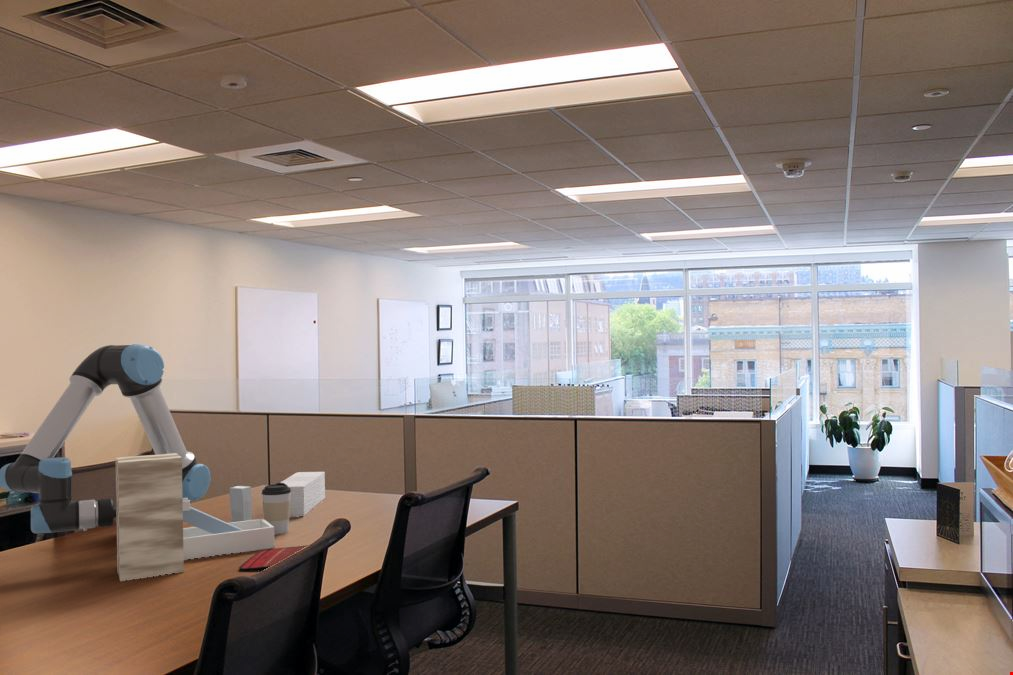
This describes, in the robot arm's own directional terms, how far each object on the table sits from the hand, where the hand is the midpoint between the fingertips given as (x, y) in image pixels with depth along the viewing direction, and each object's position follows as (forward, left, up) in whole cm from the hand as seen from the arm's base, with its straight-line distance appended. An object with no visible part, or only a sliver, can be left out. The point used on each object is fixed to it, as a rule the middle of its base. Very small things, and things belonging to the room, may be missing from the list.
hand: (188, 503), depth 229 cm
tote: (0, +6, -14) cm, 15 cm away
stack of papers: (-48, +45, -15) cm, 67 cm away
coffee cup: (-13, +28, -14) cm, 34 cm away
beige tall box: (+14, -12, -14) cm, 23 cm away
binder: (+21, +20, -15) cm, 33 cm away
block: (0, +1, -6) cm, 6 cm away
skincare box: (-33, +21, -14) cm, 42 cm away
